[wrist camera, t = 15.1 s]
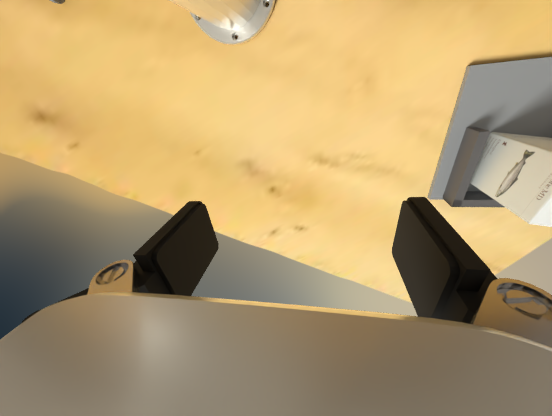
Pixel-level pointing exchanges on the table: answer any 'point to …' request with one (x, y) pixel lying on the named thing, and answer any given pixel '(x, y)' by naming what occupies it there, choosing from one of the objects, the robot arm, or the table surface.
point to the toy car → (58, 1)
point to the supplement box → (518, 175)
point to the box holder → (491, 122)
